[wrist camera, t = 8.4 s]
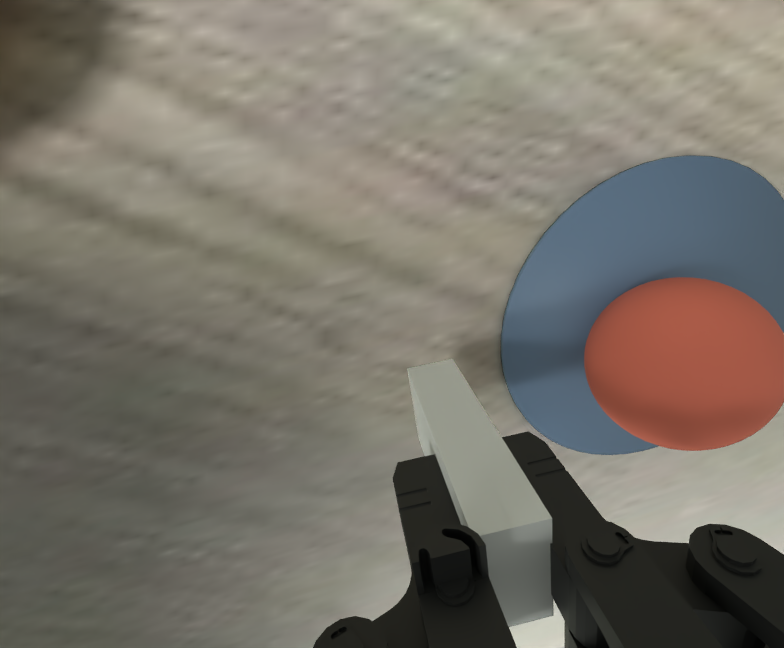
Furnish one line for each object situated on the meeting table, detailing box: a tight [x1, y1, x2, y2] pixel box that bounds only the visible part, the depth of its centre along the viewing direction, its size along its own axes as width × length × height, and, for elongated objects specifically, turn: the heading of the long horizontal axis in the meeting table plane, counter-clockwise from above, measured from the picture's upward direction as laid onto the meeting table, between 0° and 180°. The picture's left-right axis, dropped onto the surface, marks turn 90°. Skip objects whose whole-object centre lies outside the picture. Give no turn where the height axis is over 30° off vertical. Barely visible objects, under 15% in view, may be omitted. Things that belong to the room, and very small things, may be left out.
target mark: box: [501, 156, 784, 455], centre depth 17 cm, size 12×12×1 cm
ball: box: [584, 277, 784, 451], centre depth 14 cm, size 6×6×6 cm
